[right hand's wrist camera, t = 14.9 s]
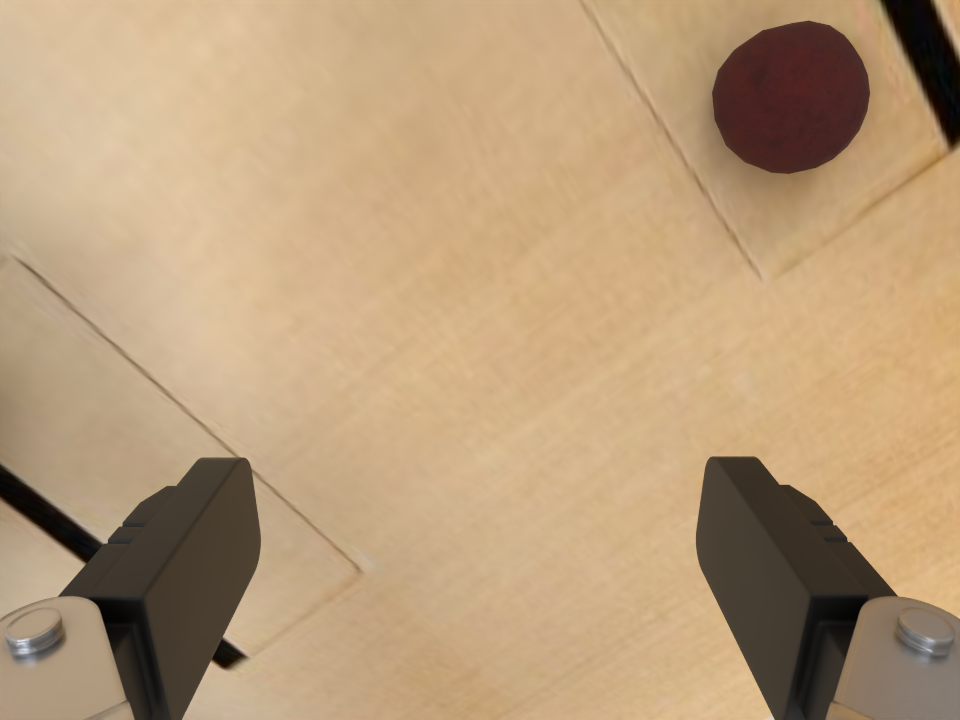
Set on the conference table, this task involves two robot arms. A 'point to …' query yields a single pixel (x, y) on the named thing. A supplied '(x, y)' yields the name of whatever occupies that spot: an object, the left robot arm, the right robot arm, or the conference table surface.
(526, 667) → the conference table surface
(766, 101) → the potato
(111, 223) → the conference table surface
